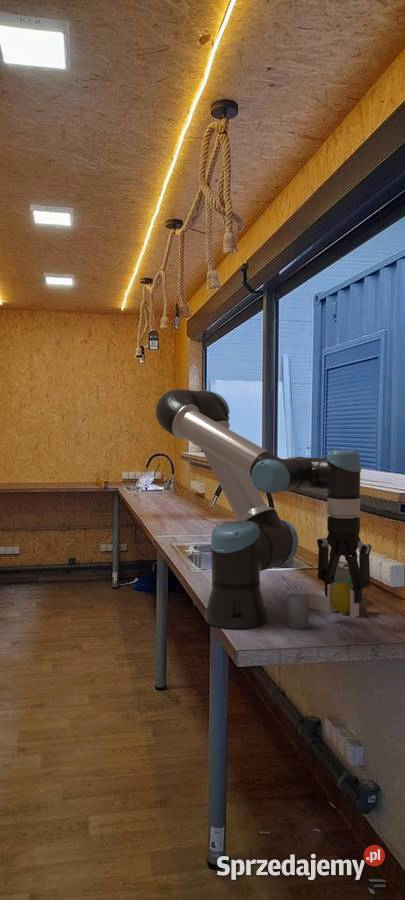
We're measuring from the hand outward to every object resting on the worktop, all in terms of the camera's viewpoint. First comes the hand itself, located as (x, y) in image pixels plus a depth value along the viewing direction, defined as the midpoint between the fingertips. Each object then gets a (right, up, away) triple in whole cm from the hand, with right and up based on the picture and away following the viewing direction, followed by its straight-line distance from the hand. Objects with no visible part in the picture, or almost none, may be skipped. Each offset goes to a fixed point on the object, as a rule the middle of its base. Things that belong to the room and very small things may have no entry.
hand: (343, 613), depth 150 cm
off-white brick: (-2, -2, +14) cm, 14 cm away
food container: (+4, -2, +19) cm, 19 cm away
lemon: (0, -1, 0) cm, 1 cm away
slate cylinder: (-11, -3, -1) cm, 11 cm away
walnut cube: (+5, -2, +8) cm, 10 cm away
